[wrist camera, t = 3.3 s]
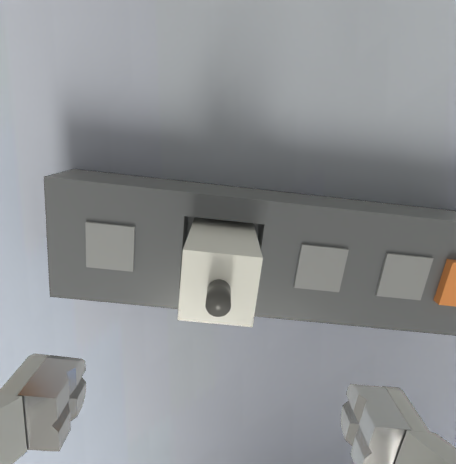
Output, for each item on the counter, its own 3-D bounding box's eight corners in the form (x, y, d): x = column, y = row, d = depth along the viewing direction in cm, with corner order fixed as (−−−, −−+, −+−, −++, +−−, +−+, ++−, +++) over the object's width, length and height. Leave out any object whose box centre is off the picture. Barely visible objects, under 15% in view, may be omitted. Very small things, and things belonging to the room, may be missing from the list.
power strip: (425, 306, 27) (463, 341, 23) (75, 272, 26) (45, 301, 22) (455, 210, 25) (505, 228, 20) (73, 168, 24) (38, 178, 19)
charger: (245, 273, 25) (254, 345, 16) (191, 267, 24) (173, 338, 16) (252, 220, 23) (266, 270, 15) (195, 214, 23) (178, 261, 15)
